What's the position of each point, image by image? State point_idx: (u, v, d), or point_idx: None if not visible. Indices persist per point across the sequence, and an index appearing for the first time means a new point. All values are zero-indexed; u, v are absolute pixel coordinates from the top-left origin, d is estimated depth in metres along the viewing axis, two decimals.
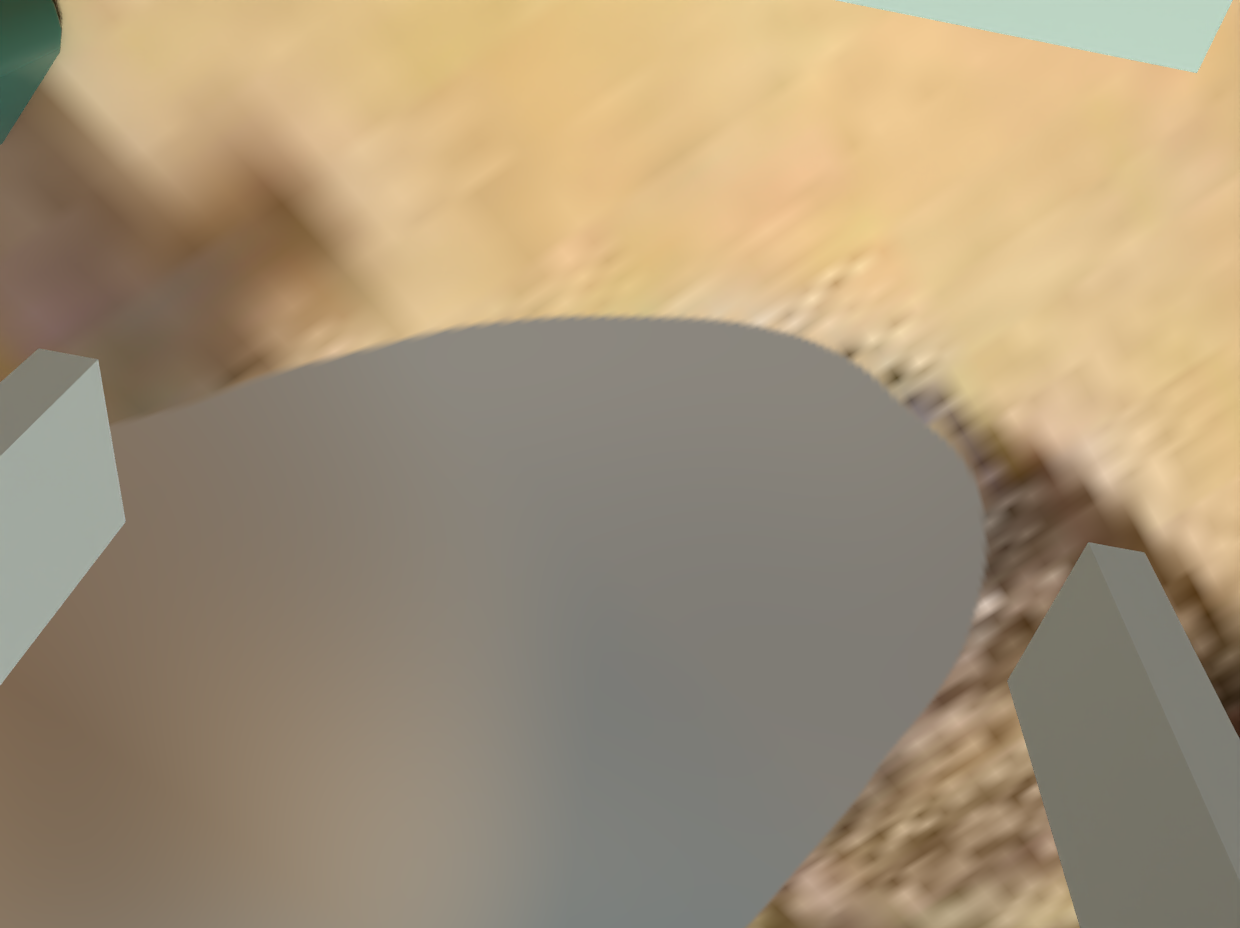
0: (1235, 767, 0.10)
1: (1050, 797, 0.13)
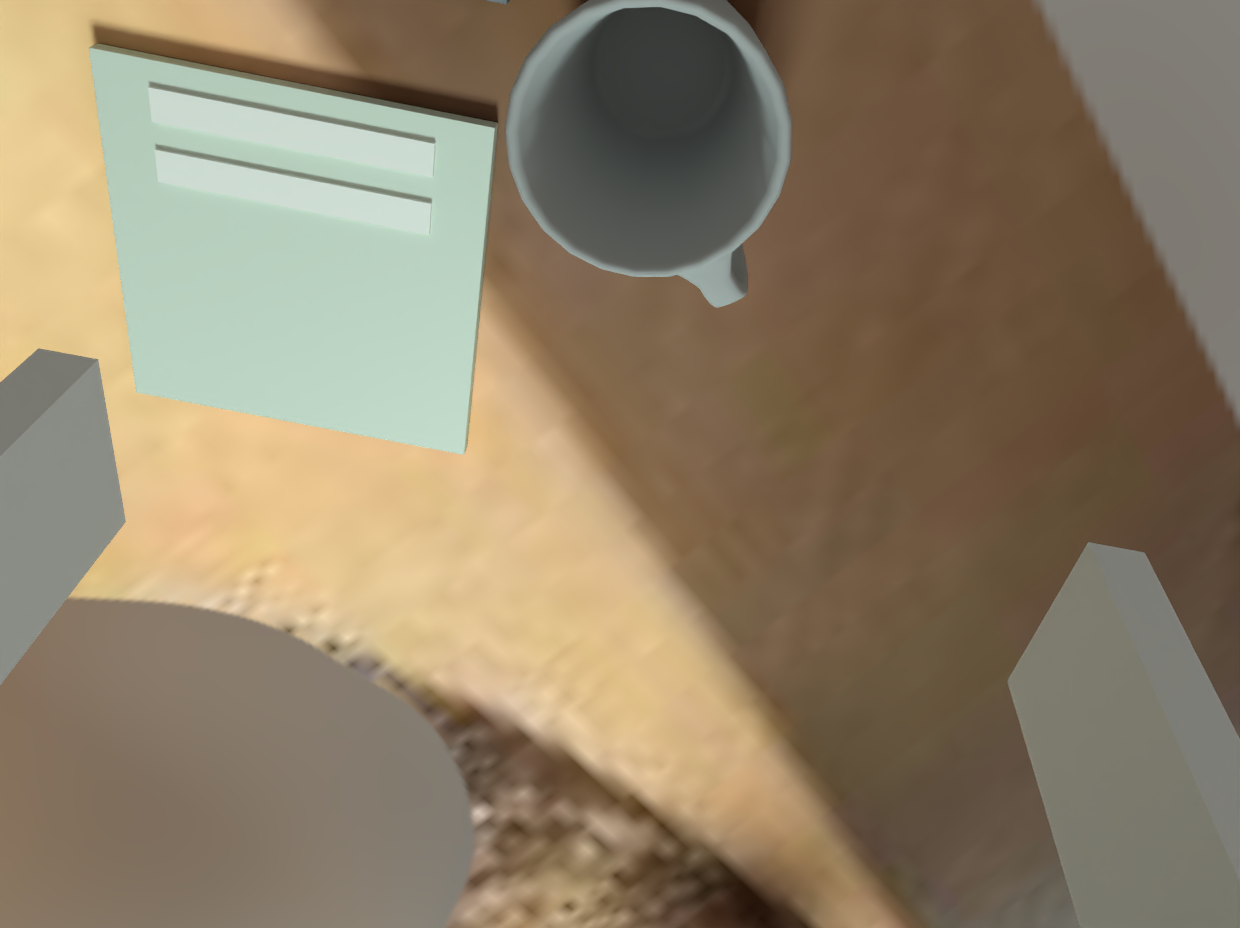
0: (1234, 768, 0.10)
1: (1050, 797, 0.13)
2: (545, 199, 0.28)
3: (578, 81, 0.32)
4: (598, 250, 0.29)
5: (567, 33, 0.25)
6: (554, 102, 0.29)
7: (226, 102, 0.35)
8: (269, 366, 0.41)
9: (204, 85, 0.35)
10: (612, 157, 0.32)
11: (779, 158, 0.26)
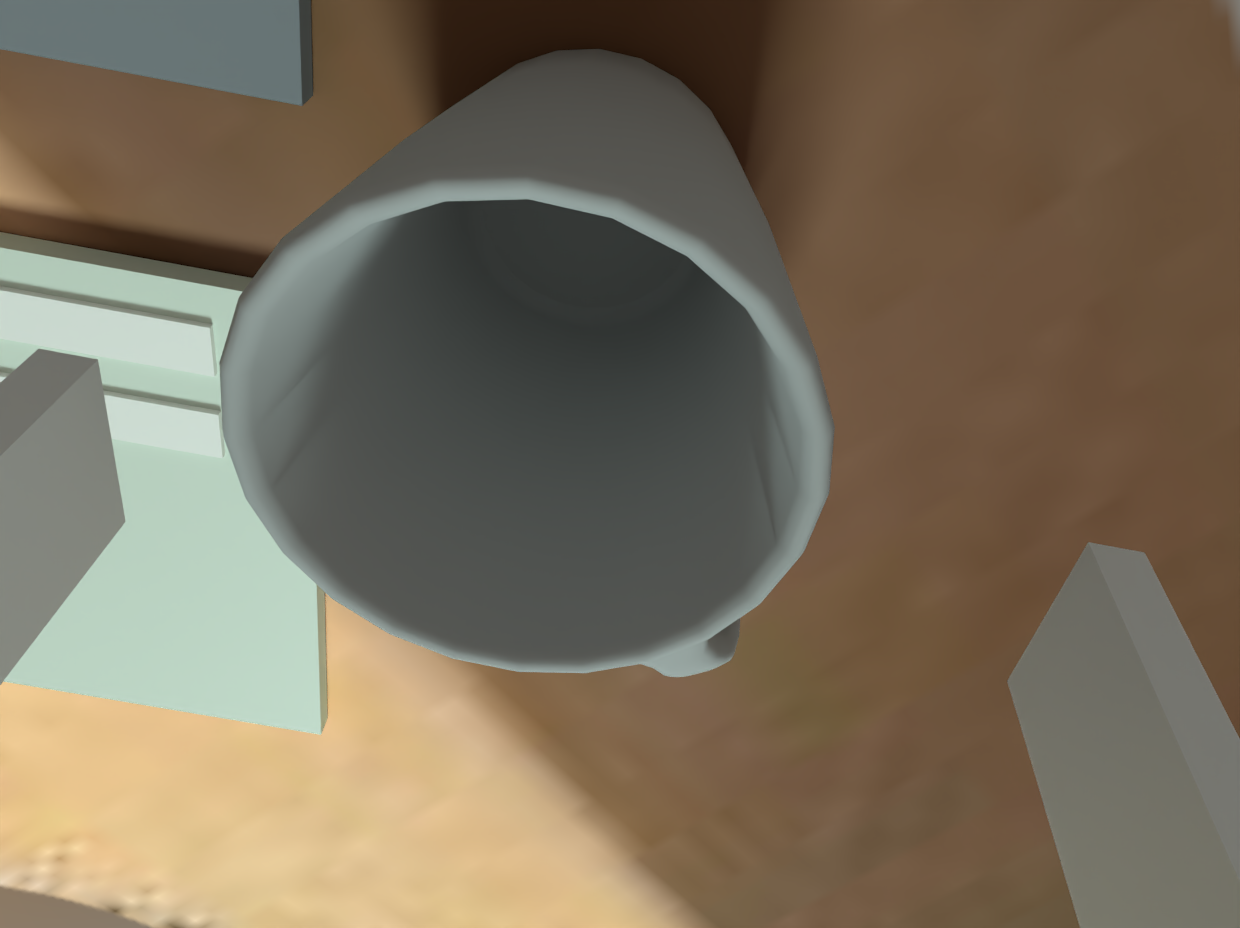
0: (1234, 767, 0.10)
1: (1050, 797, 0.13)
2: (333, 535, 0.14)
3: (428, 251, 0.17)
4: (446, 621, 0.15)
5: (322, 252, 0.11)
6: (363, 320, 0.15)
7: None
8: None
9: None
10: (498, 375, 0.18)
11: (806, 492, 0.12)
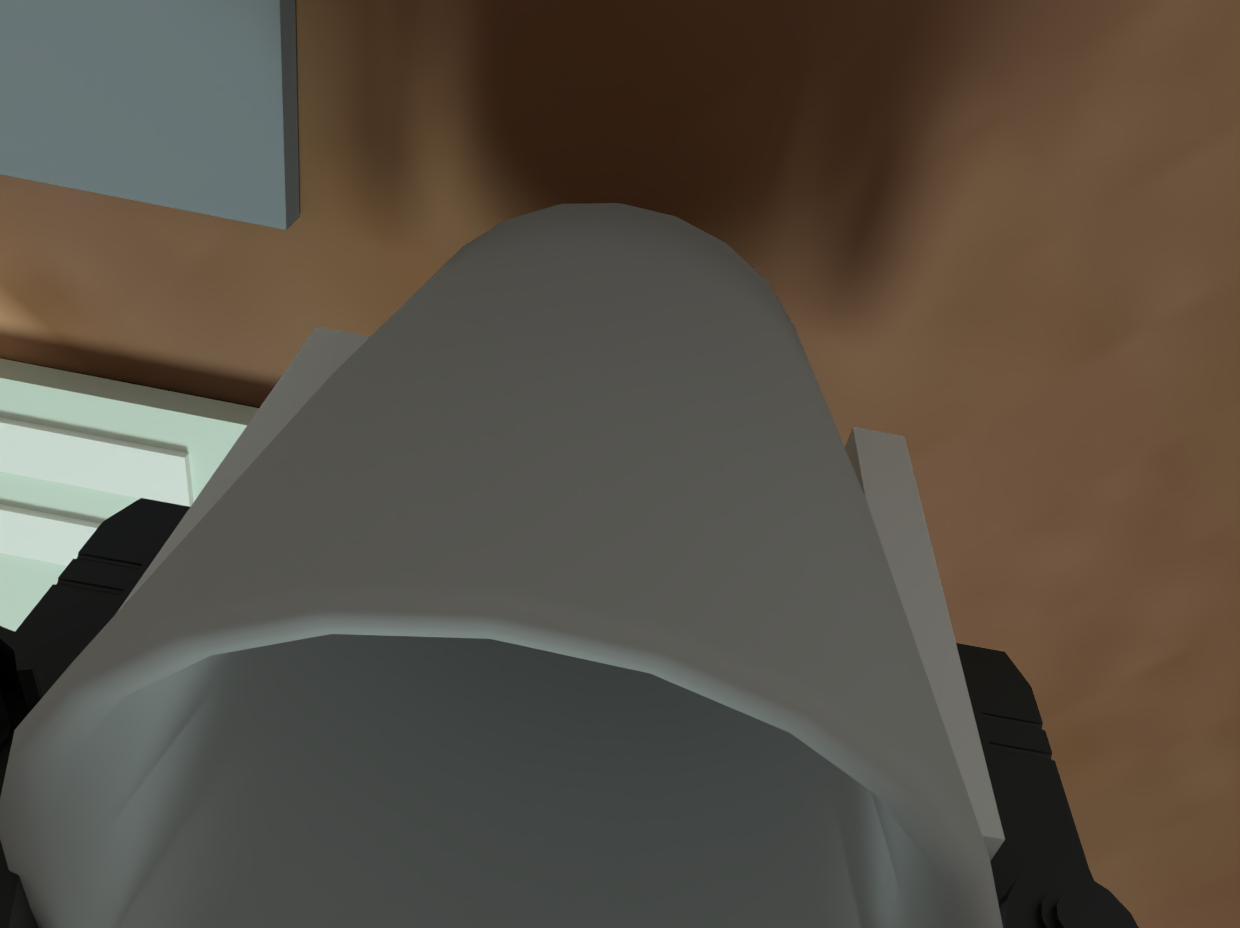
0: (927, 599, 0.12)
1: None
2: None
3: None
4: None
5: (142, 686, 0.06)
6: None
7: None
8: None
9: None
10: None
11: None
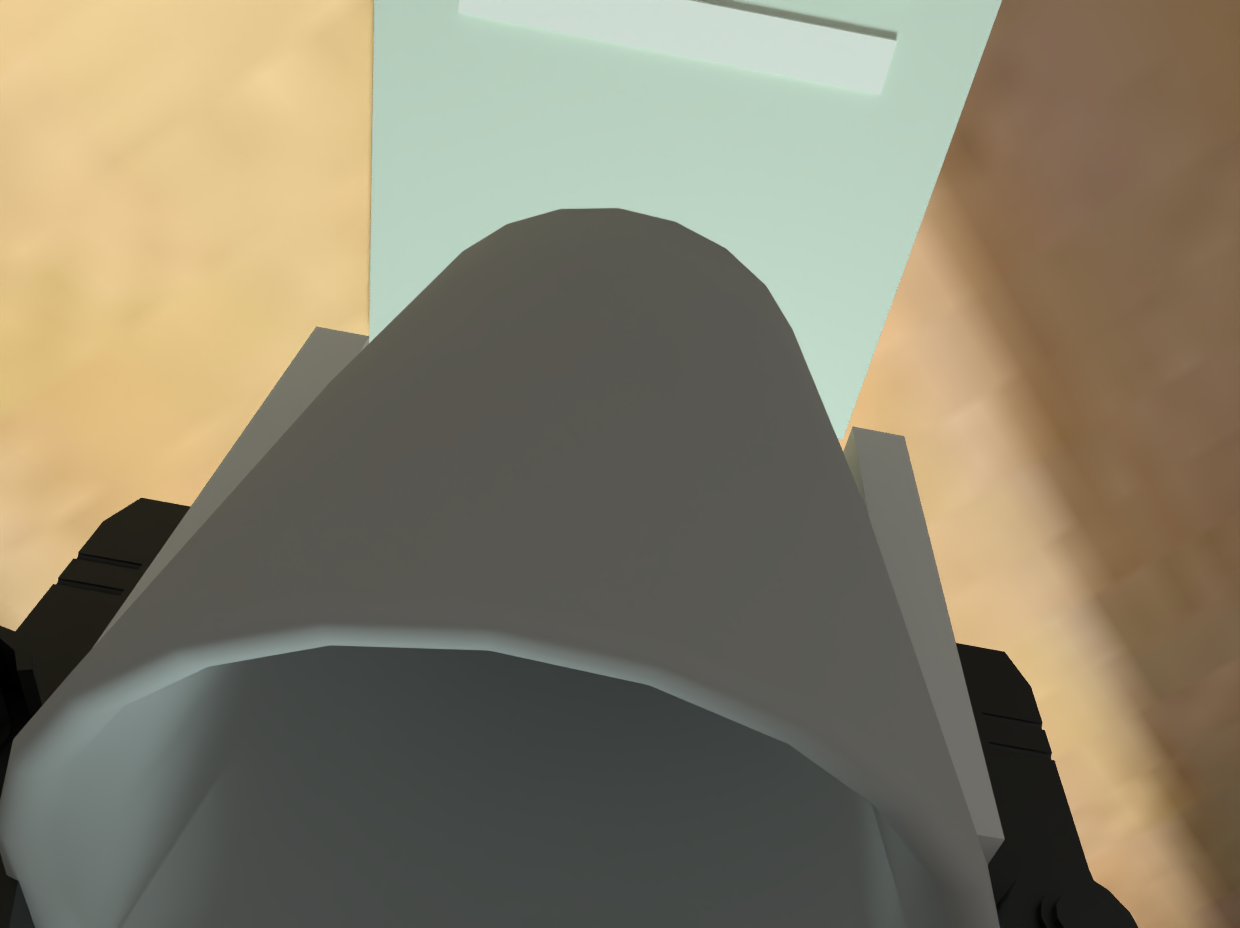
0: (926, 598, 0.12)
1: None
2: None
3: None
4: None
5: (141, 697, 0.06)
6: None
7: None
8: None
9: None
10: None
11: None
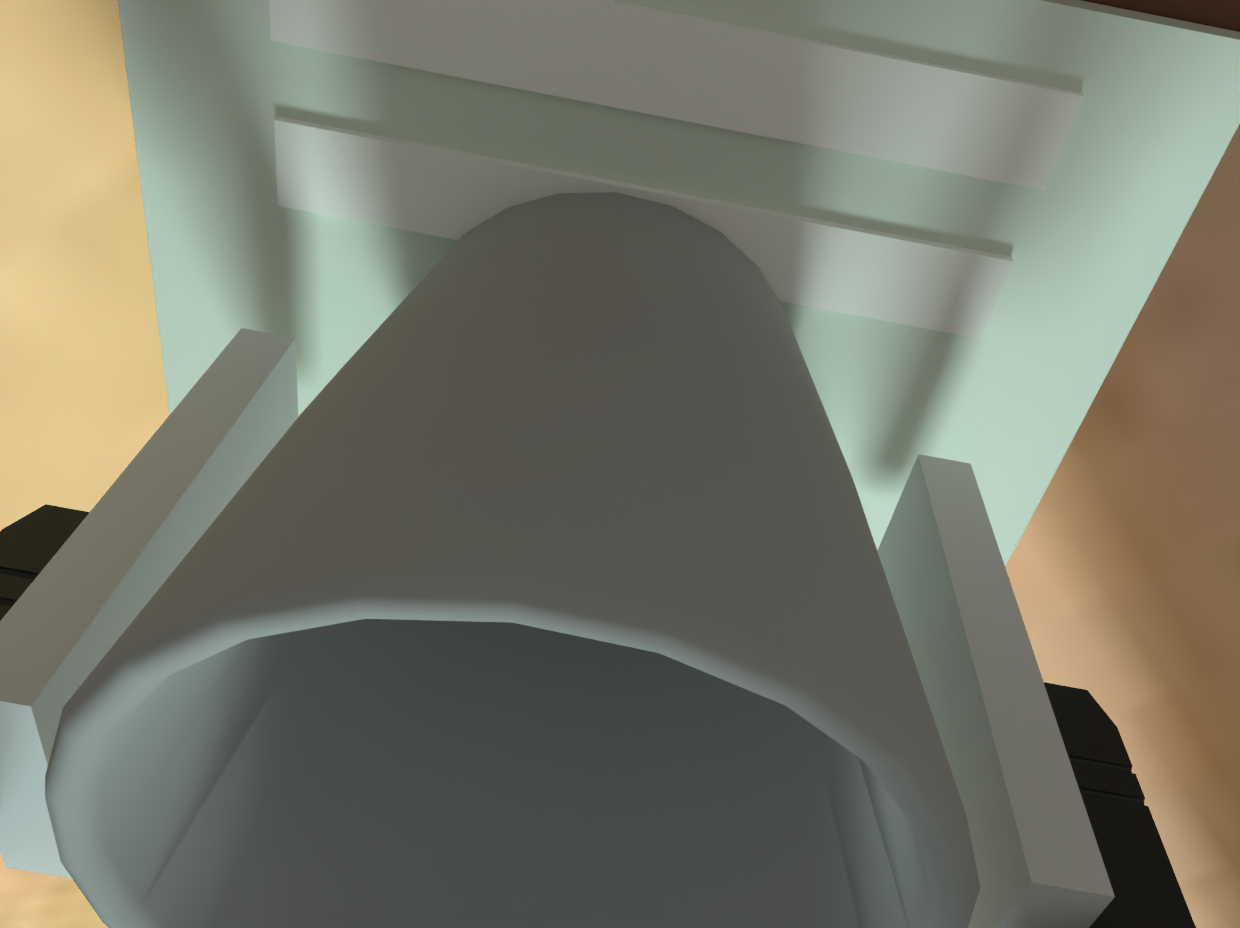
0: (1010, 637, 0.11)
1: None
2: None
3: None
4: None
5: (186, 666, 0.07)
6: None
7: None
8: None
9: None
10: None
11: None
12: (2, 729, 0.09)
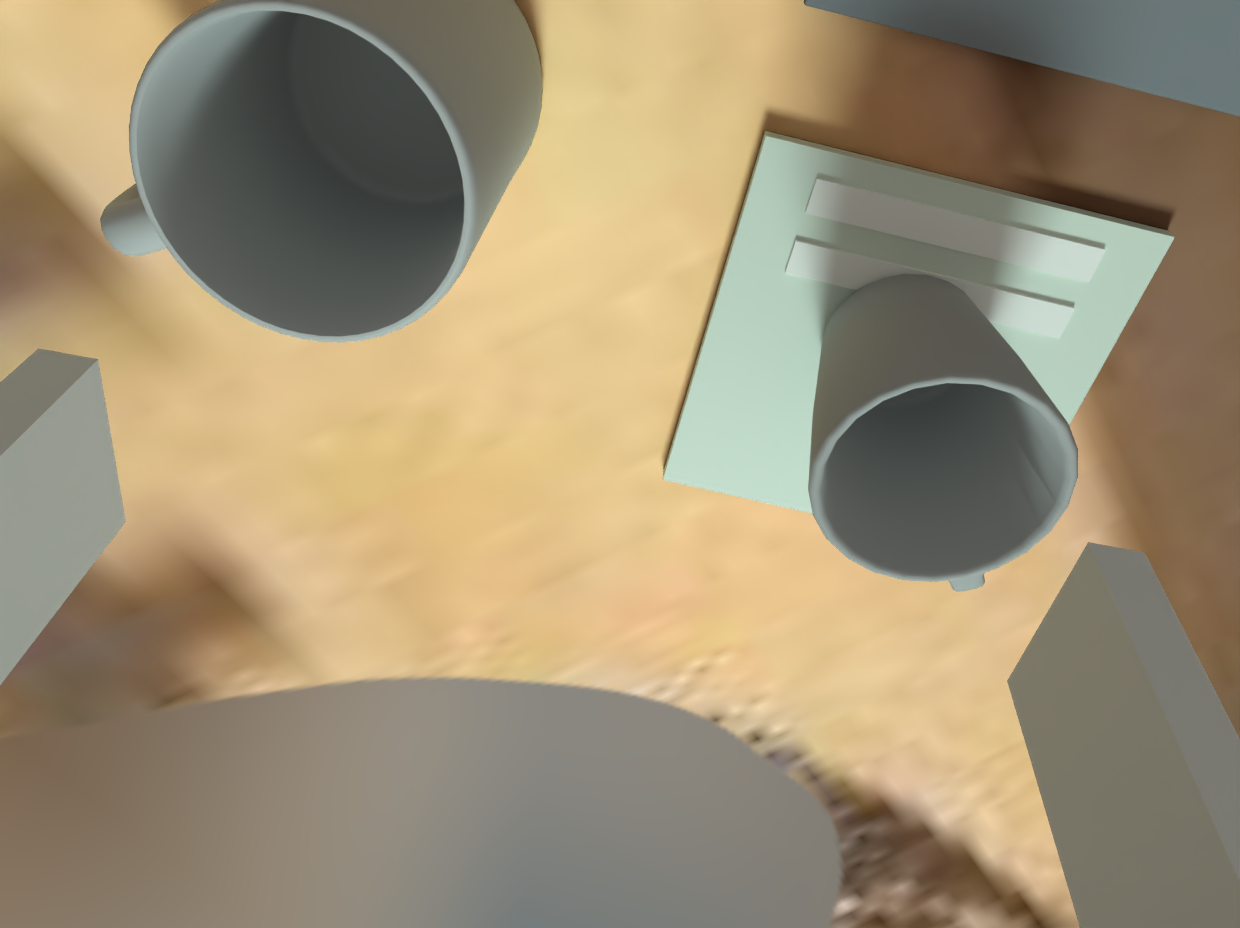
0: (1235, 768, 0.10)
1: (1050, 797, 0.13)
2: (830, 511, 0.31)
3: None
4: (871, 554, 0.31)
5: (891, 397, 0.28)
6: None
7: (896, 198, 0.33)
8: None
9: (876, 179, 0.33)
10: (856, 435, 0.35)
11: (1060, 503, 0.29)
12: None
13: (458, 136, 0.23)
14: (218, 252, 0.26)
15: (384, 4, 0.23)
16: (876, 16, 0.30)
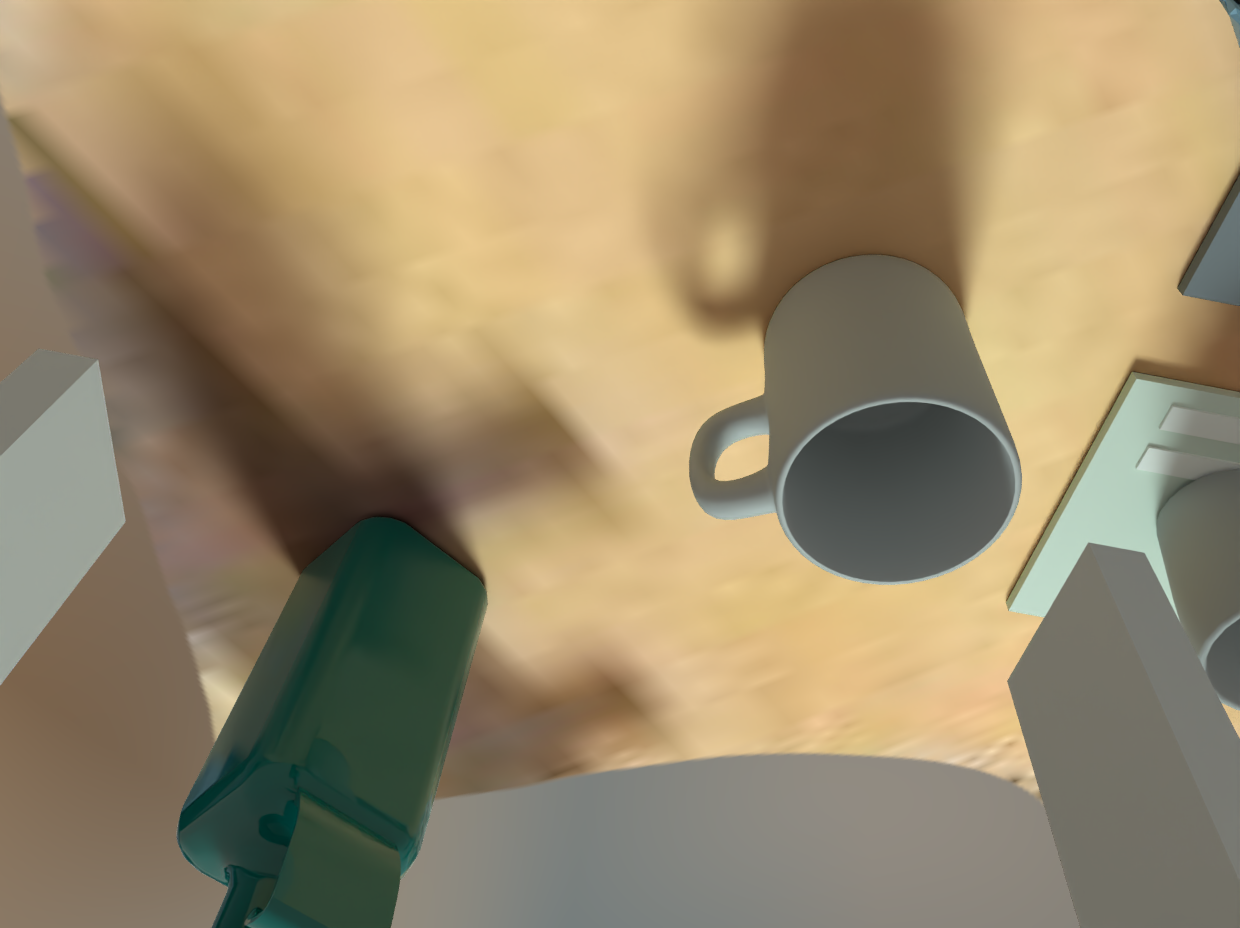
0: (1234, 767, 0.10)
1: (1050, 797, 0.13)
2: (1206, 668, 0.41)
3: None
4: (1233, 696, 0.42)
5: None
6: None
7: (1234, 418, 0.43)
8: None
9: (1219, 405, 0.43)
10: None
11: None
12: None
13: (1019, 467, 0.34)
14: (801, 523, 0.37)
15: (959, 376, 0.34)
16: (1237, 301, 0.40)
